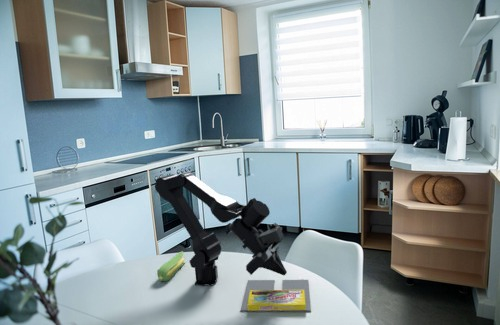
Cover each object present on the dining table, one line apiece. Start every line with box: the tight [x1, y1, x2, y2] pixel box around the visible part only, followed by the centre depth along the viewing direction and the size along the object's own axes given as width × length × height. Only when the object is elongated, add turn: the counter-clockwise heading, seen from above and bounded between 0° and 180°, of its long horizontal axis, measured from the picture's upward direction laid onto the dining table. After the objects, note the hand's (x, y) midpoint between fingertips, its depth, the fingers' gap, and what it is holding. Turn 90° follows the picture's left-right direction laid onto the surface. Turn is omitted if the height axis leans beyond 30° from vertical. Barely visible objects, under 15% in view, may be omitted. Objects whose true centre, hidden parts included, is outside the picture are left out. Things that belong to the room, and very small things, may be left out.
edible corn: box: [157, 251, 185, 282], centre depth 131 cm, size 5×20×5 cm
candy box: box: [247, 289, 306, 312], centre depth 105 cm, size 16×2×8 cm
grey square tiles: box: [239, 279, 312, 313], centre depth 110 cm, size 20×18×1 cm
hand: (285, 274), depth 108 cm, fingers closed
